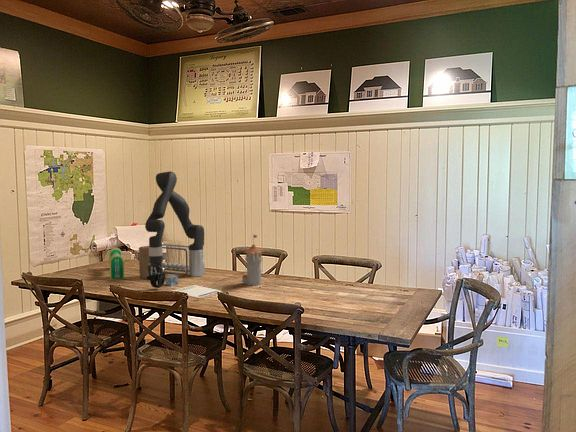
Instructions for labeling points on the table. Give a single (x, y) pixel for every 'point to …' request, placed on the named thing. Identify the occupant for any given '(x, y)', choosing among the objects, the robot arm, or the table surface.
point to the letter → (197, 291)
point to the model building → (253, 265)
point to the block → (144, 261)
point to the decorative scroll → (116, 264)
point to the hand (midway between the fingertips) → (156, 283)
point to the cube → (172, 280)
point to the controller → (154, 280)
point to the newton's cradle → (177, 266)
